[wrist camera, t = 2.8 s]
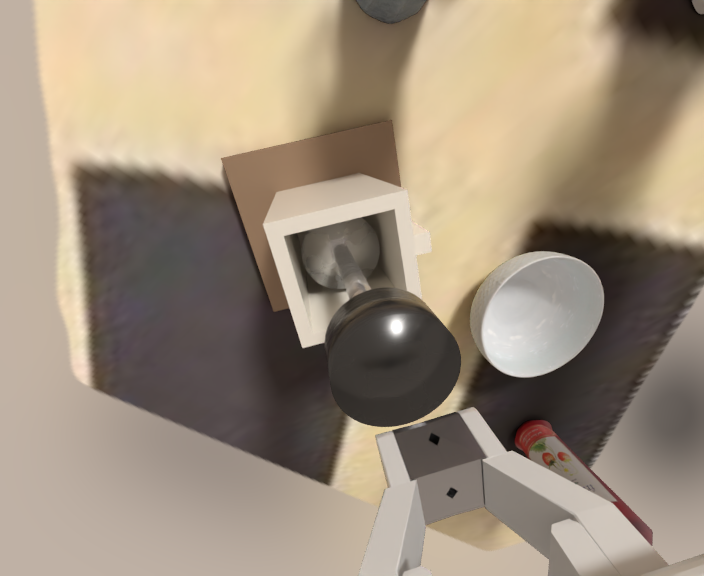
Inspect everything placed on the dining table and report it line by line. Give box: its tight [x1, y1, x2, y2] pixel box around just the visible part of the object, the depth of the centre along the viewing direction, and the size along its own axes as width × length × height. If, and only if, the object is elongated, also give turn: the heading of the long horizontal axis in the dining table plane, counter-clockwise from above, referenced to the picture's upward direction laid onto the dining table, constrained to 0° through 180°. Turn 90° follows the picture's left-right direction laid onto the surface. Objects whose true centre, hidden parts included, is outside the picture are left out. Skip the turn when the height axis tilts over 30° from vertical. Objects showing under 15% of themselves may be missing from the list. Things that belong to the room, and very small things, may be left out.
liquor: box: [515, 420, 653, 546], centre depth 46 cm, size 7×7×28 cm
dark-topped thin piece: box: [302, 217, 461, 427], centre depth 20 cm, size 6×6×17 cm
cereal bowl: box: [470, 251, 604, 377], centre depth 45 cm, size 17×17×7 cm
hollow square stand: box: [221, 120, 432, 348], centre depth 31 cm, size 18×18×18 cm
